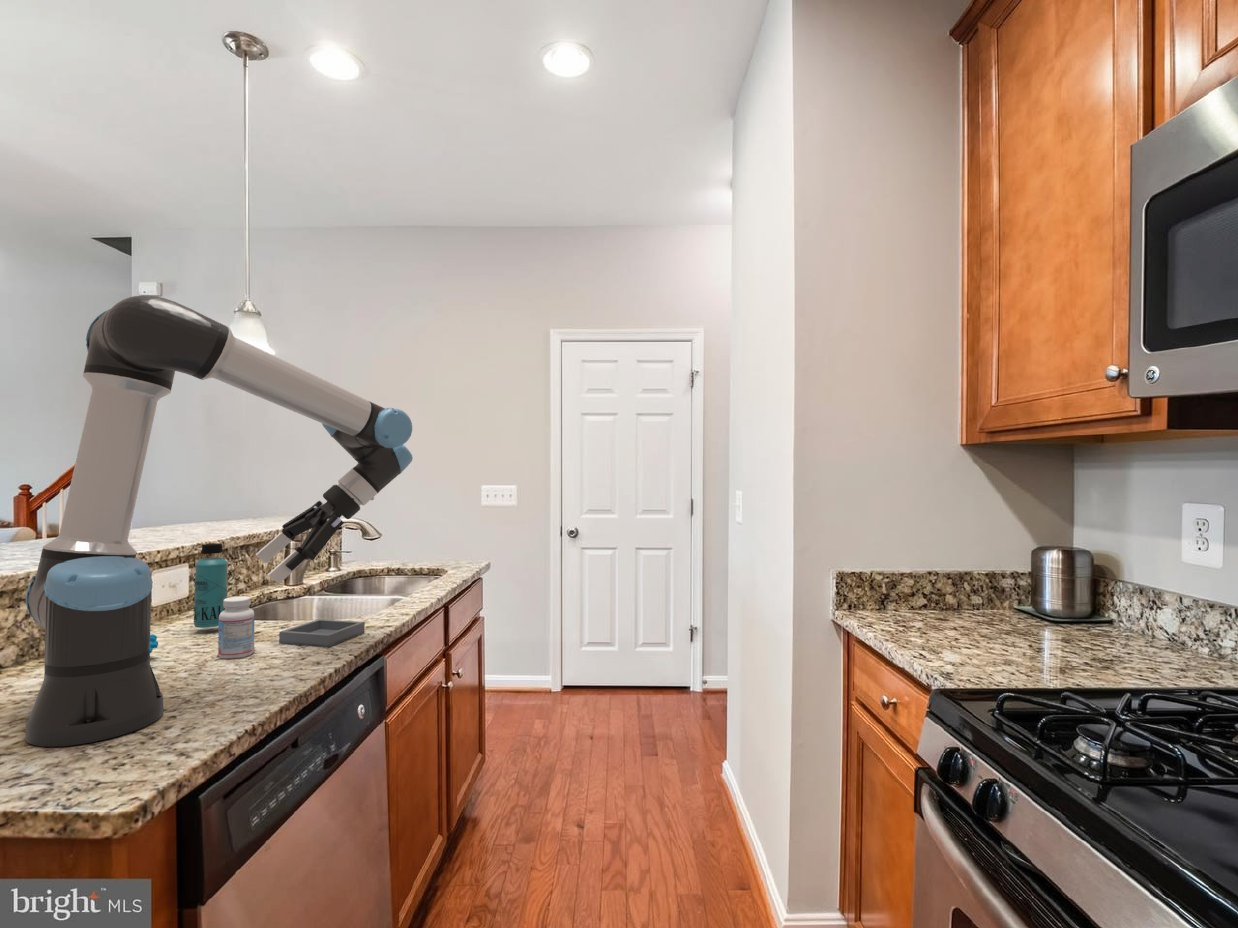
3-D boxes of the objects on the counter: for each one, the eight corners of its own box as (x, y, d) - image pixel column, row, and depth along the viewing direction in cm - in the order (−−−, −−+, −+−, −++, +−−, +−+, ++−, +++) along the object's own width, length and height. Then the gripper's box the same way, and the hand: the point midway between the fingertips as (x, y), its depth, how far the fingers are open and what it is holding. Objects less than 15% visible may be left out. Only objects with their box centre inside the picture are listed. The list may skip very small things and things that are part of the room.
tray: (328, 647, 129) (328, 635, 129) (279, 643, 132) (279, 631, 132) (364, 633, 141) (364, 622, 141) (318, 629, 143) (318, 618, 143)
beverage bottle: (202, 627, 145) (204, 541, 145) (233, 627, 145) (234, 541, 146) (186, 635, 138) (187, 545, 138) (218, 634, 139) (219, 544, 139)
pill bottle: (225, 651, 126) (225, 596, 126) (258, 649, 127) (259, 594, 127) (212, 660, 120) (213, 602, 120) (247, 658, 121) (248, 600, 121)
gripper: (379, 520, 126) (293, 600, 119) (345, 494, 145) (269, 561, 138) (354, 495, 122) (263, 576, 115) (322, 472, 141) (242, 540, 134)
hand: (266, 568), depth 126 cm, fingers open, 13 cm apart
